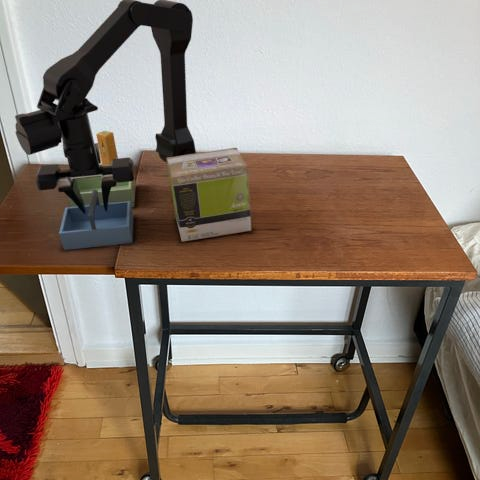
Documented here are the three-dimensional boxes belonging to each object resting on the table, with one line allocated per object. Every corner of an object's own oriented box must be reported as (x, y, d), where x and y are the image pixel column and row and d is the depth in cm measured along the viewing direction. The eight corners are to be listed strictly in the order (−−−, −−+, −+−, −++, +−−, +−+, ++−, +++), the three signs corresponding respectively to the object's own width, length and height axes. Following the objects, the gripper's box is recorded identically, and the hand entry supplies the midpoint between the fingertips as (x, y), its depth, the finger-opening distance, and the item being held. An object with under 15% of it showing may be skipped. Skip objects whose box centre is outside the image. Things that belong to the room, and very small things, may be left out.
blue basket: (133, 216, 119) (127, 186, 114) (132, 243, 111) (125, 211, 106) (70, 223, 118) (61, 192, 113) (63, 250, 110) (54, 218, 105)
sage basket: (135, 185, 131) (132, 168, 128) (134, 206, 123) (130, 188, 120) (78, 191, 130) (73, 173, 127) (72, 212, 122) (67, 194, 119)
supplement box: (121, 170, 138) (114, 131, 132) (112, 175, 136) (104, 136, 130) (112, 167, 140) (104, 129, 133) (103, 172, 138) (94, 134, 131)
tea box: (241, 210, 119) (238, 145, 110) (251, 232, 112) (249, 165, 102) (174, 219, 117) (165, 155, 108) (180, 243, 110) (171, 176, 100)
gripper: (128, 119, 109) (140, 189, 119) (34, 127, 108) (55, 198, 118) (126, 140, 100) (140, 214, 110) (25, 149, 99) (48, 223, 109)
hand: (95, 211), depth 112 cm, fingers open, 4 cm apart
